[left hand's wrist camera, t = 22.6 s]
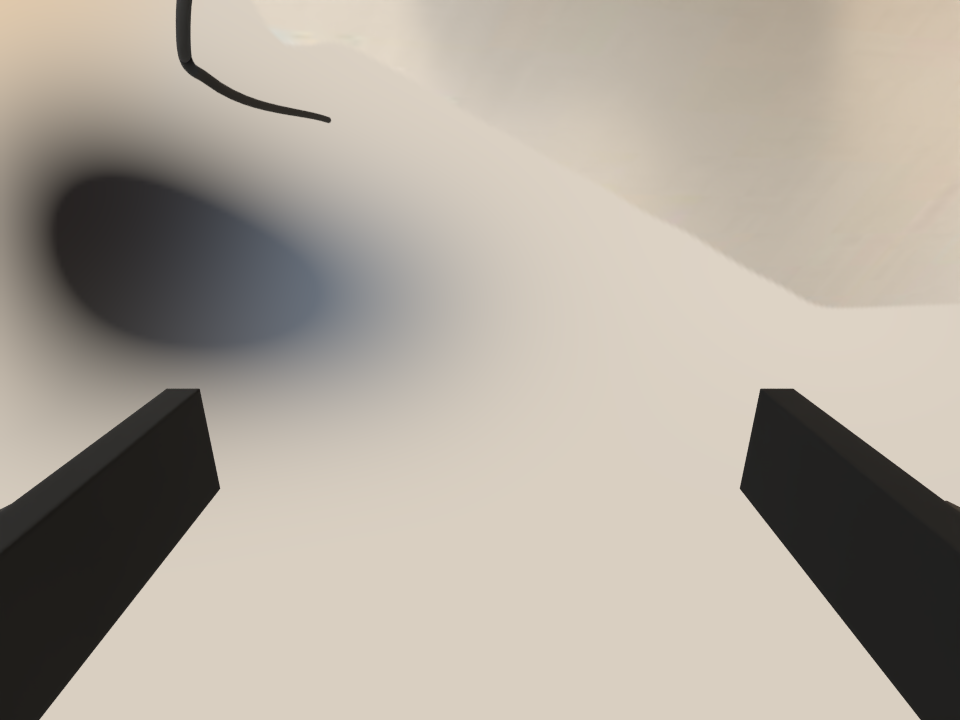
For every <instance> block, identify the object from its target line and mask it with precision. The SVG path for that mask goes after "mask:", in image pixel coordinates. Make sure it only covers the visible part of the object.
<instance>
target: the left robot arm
mask: <svg viewBox="0 0 960 720" xmlns="http://www.w3.org/2000/svg"><path fill="white" fill-rule="evenodd" d="M191 5H192V0H177V4H176V42H177V51H178V56H179V60H180V63H181V65H182V67H183V68H184V69H185V71H186V72H187V73H189V74H190V75H191V76H192V77H194V78H196V79H198V80H199V81H201V82H203V83H204V84H206V85H207V86H209V87H210V88H212V89H213V90H215V91H216V92H218V93H220V94H221V95H223V96H225V97H227V98H229V99H231V100H234V101H236V102H239V103H241V104H244V105H247V106H250V107H253V108H257V109H261V110H265V111H269V112H274V113H279V114H285V115H291V116H297V117H303V118H309V119H314V120H319V121H322V122H326V123H330V122H331V118H330V117H327V116H324V115H321V114H317V113H313V112H308V111H303V110H299V109H294V108H289V107H284V106H280V105H275V104H271V103H268V102H264V101H261V100H257V99H255V98H252V97H249V96H246V95H244V94H242V93H240V92H238V91H235V90H233V89H232V88H230V87H228V86H226V85H225V84H223V83H221V82H220V81H219V80H217V79H216V78H214V77H213V76H212V75H210V74H209V73H208V72H206V71H205V70H203V69H202V68H200V67H198V66H197V65H195V63H194V62H193V59H192V56H191V42H190V24H191ZM219 489H220V486H219V481H218V476H217V471H216V466H215V461H214V456H213V452H212V447H211V442H210V437H209V432H208V427H207V423H206V418H205V413H204V408H203V403H202V398H201V394H200V389H166V390H164V391H163V392H162V393H160V394H159V395H158V396H156V397H155V398H154V399H152V400H151V401H150V402H148V403H147V404H146V405H144V406H143V407H142V408H140V409H139V410H138V411H136V412H135V413H134V414H132V415H131V416H129V417H128V418H127V419H125V420H124V421H123V422H121V423H120V424H119V425H117V426H116V427H115V428H113V429H112V430H111V431H109V432H108V433H107V434H105V435H104V436H102V437H101V438H100V439H98V440H97V441H96V442H94V443H93V444H92V445H90V446H89V447H88V448H86V449H85V450H84V451H82V452H81V453H80V454H78V455H77V456H75V457H74V458H73V459H71V460H70V461H69V462H67V463H66V464H65V465H63V466H62V467H61V468H59V469H58V470H57V471H55V472H54V473H53V474H51V475H50V476H48V477H47V478H46V479H44V480H43V481H42V482H40V483H39V484H38V485H36V486H35V487H34V488H32V489H31V490H30V491H28V492H27V493H26V494H24V495H23V496H22V497H20V498H19V499H17V500H16V501H15V502H13V503H12V504H10V505H8V506H6V507H4V508H2V509H0V720H39V719H40V718H41V717H42V716H43V714H44V713H45V712H46V710H47V709H48V708H49V707H50V705H51V704H52V703H53V702H54V700H55V699H56V698H57V696H58V695H59V694H60V693H61V691H62V690H63V689H64V687H65V686H66V685H67V684H68V682H69V681H70V680H71V678H72V677H73V676H74V675H75V673H76V672H77V671H78V670H79V668H80V667H81V666H82V664H83V663H84V662H85V661H86V659H87V658H88V657H89V656H90V654H91V653H92V652H93V650H94V649H95V648H96V647H97V645H98V644H99V643H100V641H101V640H102V639H103V638H104V636H105V635H106V634H107V633H108V631H109V630H110V629H111V627H112V626H113V625H114V624H115V622H116V621H117V620H118V618H119V617H120V616H121V615H122V613H123V612H124V611H125V610H126V608H127V607H128V606H129V604H130V603H131V602H132V600H133V599H134V598H135V597H136V595H137V594H138V593H139V592H140V590H141V589H142V588H143V587H144V585H145V584H146V583H147V581H148V580H149V579H150V578H151V576H152V575H153V574H154V572H155V571H156V570H157V569H158V567H159V566H160V565H161V564H162V562H163V561H164V560H165V558H166V557H167V556H168V555H169V553H170V552H171V551H172V549H173V548H174V547H175V546H176V544H177V543H178V542H179V541H180V539H181V538H182V537H183V535H184V534H185V533H186V532H187V530H188V529H189V528H190V526H191V525H192V524H193V523H194V521H195V520H196V519H197V517H198V516H199V515H200V514H201V512H202V511H203V510H204V509H205V507H206V506H207V505H208V503H209V502H210V501H211V500H212V498H213V497H214V496H215V495H216V493H217V492H218V491H219ZM740 489H741V491H742V492H743V493H744V494H745V496H746V497H747V498H748V500H749V501H750V502H751V503H752V505H753V506H754V507H755V509H756V510H757V511H758V512H759V514H760V515H761V516H762V518H763V519H764V520H765V521H766V523H767V524H768V525H769V526H770V528H771V529H772V530H773V532H774V533H775V534H776V535H777V537H778V538H779V539H780V541H781V542H782V543H783V544H784V546H785V547H786V548H787V549H788V551H789V552H790V553H791V555H792V556H793V557H794V558H795V560H796V561H797V562H798V564H799V565H800V566H801V567H802V569H803V570H804V571H805V572H806V574H807V575H808V576H809V578H810V579H811V580H812V581H813V583H814V584H815V585H816V587H817V588H818V589H819V590H820V592H821V593H822V594H823V595H824V597H825V598H826V599H827V601H828V602H829V603H830V604H831V606H832V607H833V608H834V610H835V611H836V612H837V613H838V615H839V616H840V617H841V618H842V620H843V621H844V622H845V624H846V625H847V626H848V627H849V629H850V630H851V631H852V633H853V634H854V635H855V636H856V638H857V639H858V640H859V641H860V643H861V644H862V645H863V647H864V648H865V649H866V650H867V652H868V653H869V654H870V655H871V657H872V658H873V659H874V661H875V662H876V663H877V664H878V666H879V667H880V668H881V670H882V671H883V672H884V673H885V675H886V676H887V677H888V679H889V680H890V681H891V682H892V684H893V685H894V686H895V687H896V689H897V690H898V691H899V693H900V694H901V695H902V696H903V698H904V699H905V700H906V702H907V703H908V704H909V705H910V707H911V708H912V709H913V710H914V712H915V713H916V714H917V716H918V717H919V718H920V719H921V720H960V507H958V506H956V505H954V504H952V503H950V502H948V501H944V500H942V499H941V498H940V497H938V496H937V495H936V494H934V493H933V492H932V491H930V490H929V489H928V488H926V487H925V486H924V485H922V484H921V483H920V482H918V481H917V480H916V479H914V478H913V477H911V476H910V475H909V474H907V473H906V472H905V471H903V470H902V469H901V468H899V467H898V466H897V465H895V464H894V463H893V462H891V461H890V460H889V459H887V458H886V457H885V456H883V455H882V454H880V453H879V452H878V451H876V450H875V449H874V448H872V447H871V446H870V445H868V444H867V443H866V442H864V441H863V440H862V439H860V438H859V437H858V436H856V435H855V434H853V433H852V432H851V431H849V430H848V429H847V428H845V427H844V426H843V425H841V424H840V423H839V422H837V421H836V420H835V419H833V418H832V417H831V416H829V415H828V414H827V413H825V412H824V411H822V410H821V409H820V408H818V407H817V406H816V405H814V404H813V403H812V402H810V401H809V400H808V399H806V398H805V397H804V396H802V395H801V394H799V393H798V392H797V391H796V390H794V389H760V393H759V398H758V403H757V408H756V413H755V418H754V422H753V427H752V432H751V437H750V442H749V447H748V452H747V457H746V461H745V466H744V471H743V476H742V481H741V486H740Z"/></svg>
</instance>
